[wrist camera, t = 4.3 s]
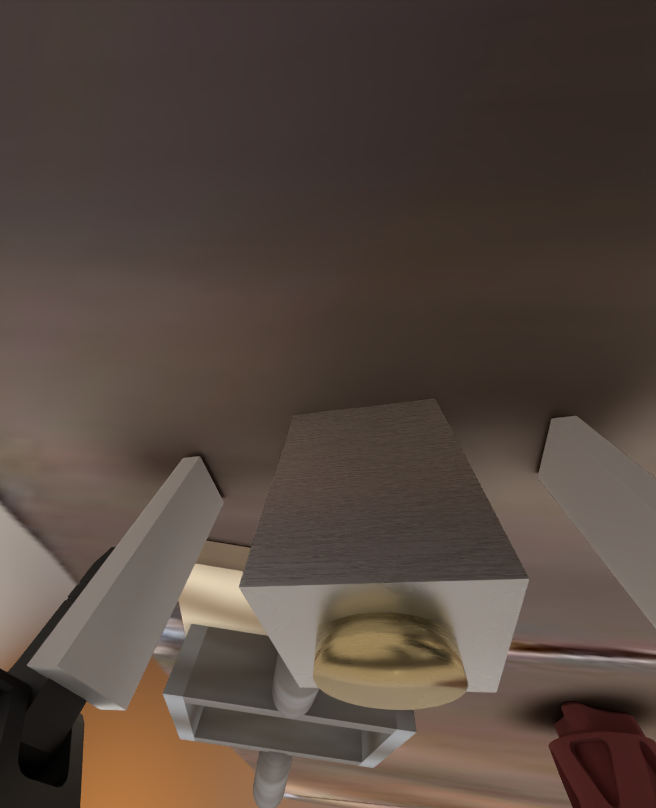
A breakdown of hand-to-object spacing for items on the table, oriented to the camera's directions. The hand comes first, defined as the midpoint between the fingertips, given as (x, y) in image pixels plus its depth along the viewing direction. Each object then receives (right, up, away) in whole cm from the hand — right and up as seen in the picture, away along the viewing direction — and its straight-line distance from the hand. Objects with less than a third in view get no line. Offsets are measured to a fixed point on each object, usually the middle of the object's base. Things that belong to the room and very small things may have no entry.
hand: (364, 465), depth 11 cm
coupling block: (0, 0, 0) cm, 0 cm away
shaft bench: (-4, -15, +9) cm, 18 cm away
